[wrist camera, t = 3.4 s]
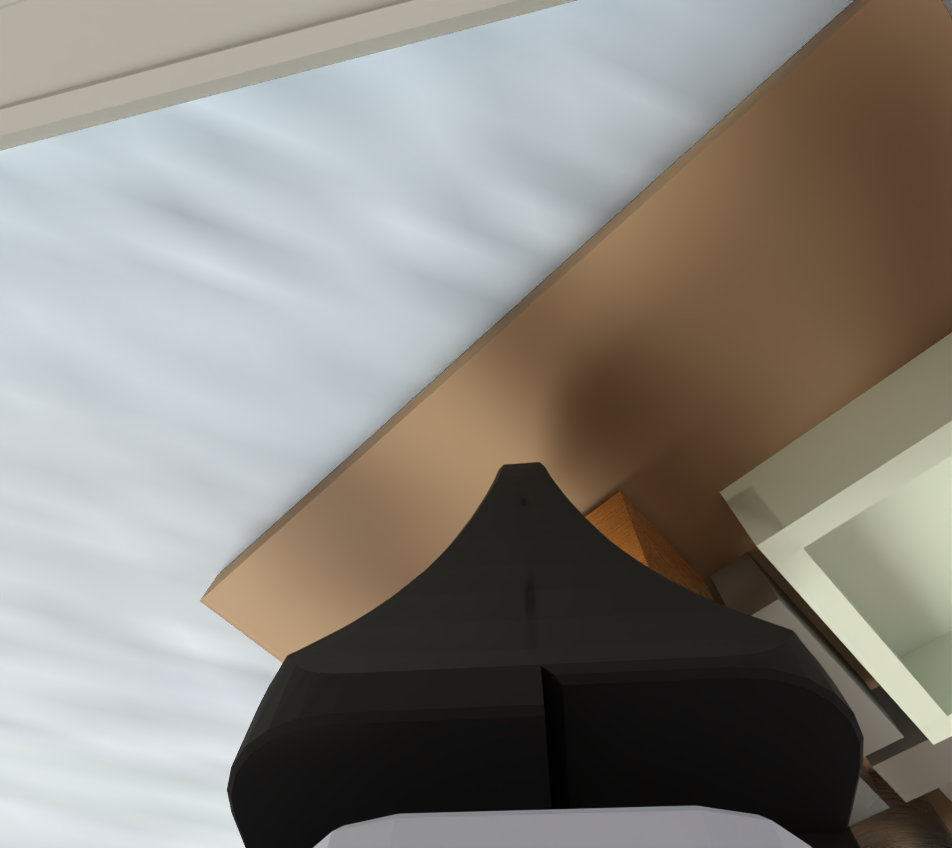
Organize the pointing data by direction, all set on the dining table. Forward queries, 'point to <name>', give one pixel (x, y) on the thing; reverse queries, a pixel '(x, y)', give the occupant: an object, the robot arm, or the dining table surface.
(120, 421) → the dining table surface
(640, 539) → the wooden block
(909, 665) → the tray
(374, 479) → the holder
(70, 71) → the adjustable wrench
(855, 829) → the peg
